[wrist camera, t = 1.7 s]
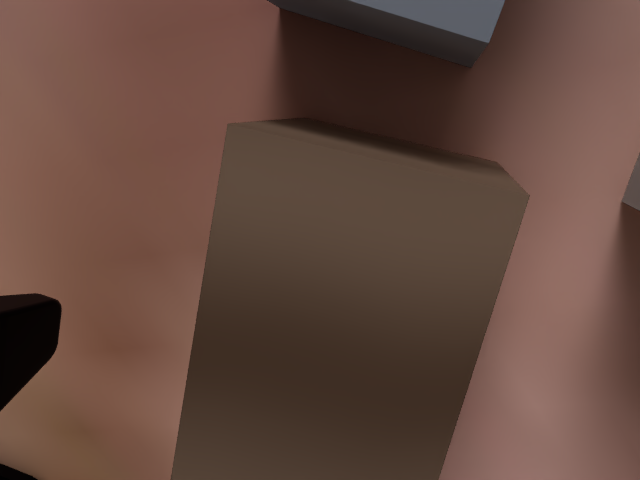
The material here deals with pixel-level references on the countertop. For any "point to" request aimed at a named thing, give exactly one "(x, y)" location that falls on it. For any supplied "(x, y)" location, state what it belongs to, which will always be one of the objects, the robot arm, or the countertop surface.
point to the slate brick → (412, 23)
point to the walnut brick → (341, 304)
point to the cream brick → (633, 188)
